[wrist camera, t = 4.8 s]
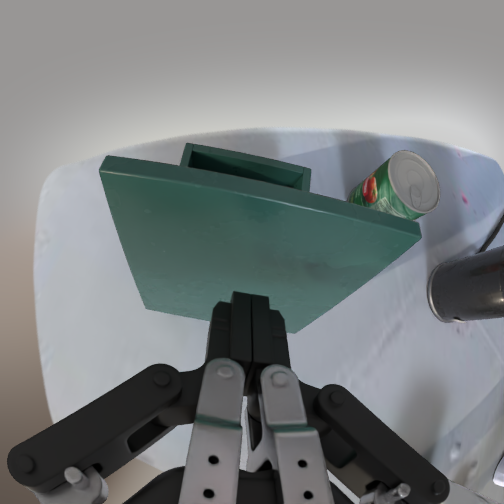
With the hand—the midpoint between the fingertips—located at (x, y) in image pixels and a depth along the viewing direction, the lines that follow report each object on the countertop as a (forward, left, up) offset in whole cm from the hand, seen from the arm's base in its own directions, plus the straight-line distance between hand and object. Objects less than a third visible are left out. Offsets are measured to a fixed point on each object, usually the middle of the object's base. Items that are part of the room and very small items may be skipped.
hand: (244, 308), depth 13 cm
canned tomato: (-25, -3, -23) cm, 34 cm away
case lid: (-1, -2, -4) cm, 5 cm away
